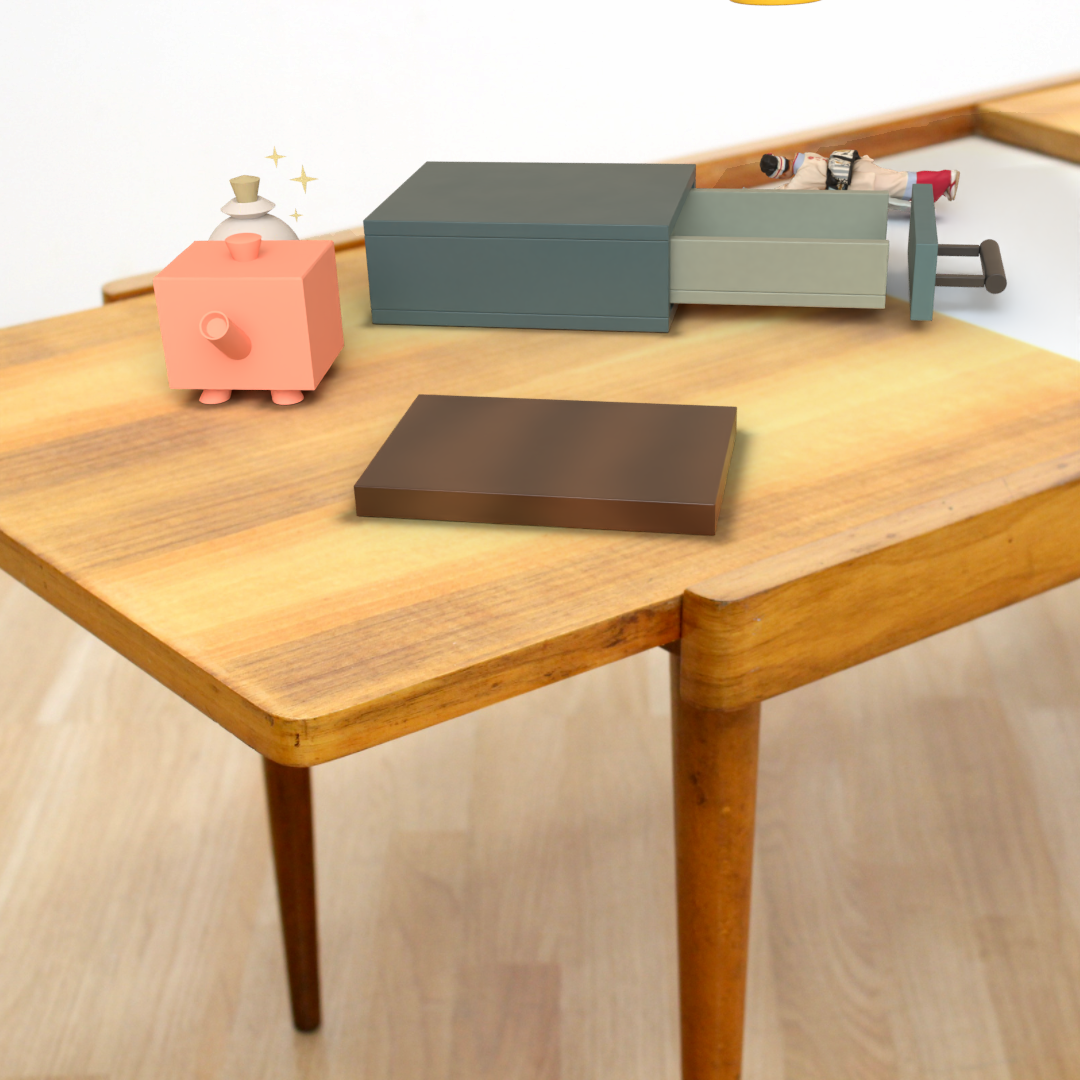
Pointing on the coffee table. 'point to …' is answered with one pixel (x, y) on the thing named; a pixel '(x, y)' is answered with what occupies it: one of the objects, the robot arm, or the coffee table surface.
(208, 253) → the pink cube teapot
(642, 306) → the cabinet
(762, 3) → the pepper
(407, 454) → the board
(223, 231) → the corked potion bottle
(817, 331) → the coffee table surface
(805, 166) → the figurine
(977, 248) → the drawer
